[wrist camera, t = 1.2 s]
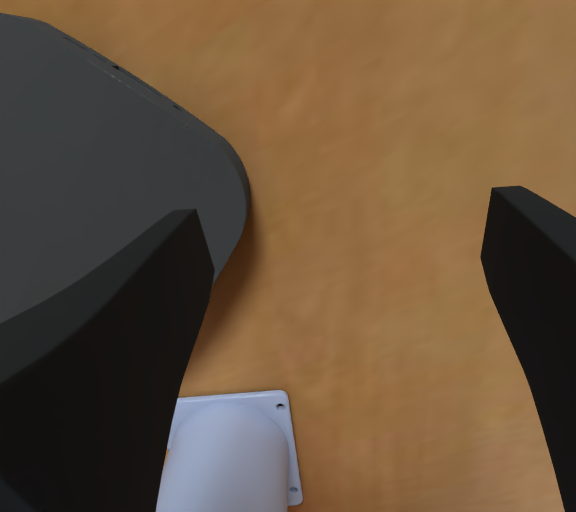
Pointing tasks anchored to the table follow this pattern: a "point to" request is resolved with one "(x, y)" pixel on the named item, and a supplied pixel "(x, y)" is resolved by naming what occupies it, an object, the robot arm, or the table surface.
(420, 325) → the table surface
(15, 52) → the media streaming box
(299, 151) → the table surface
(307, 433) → the table surface
